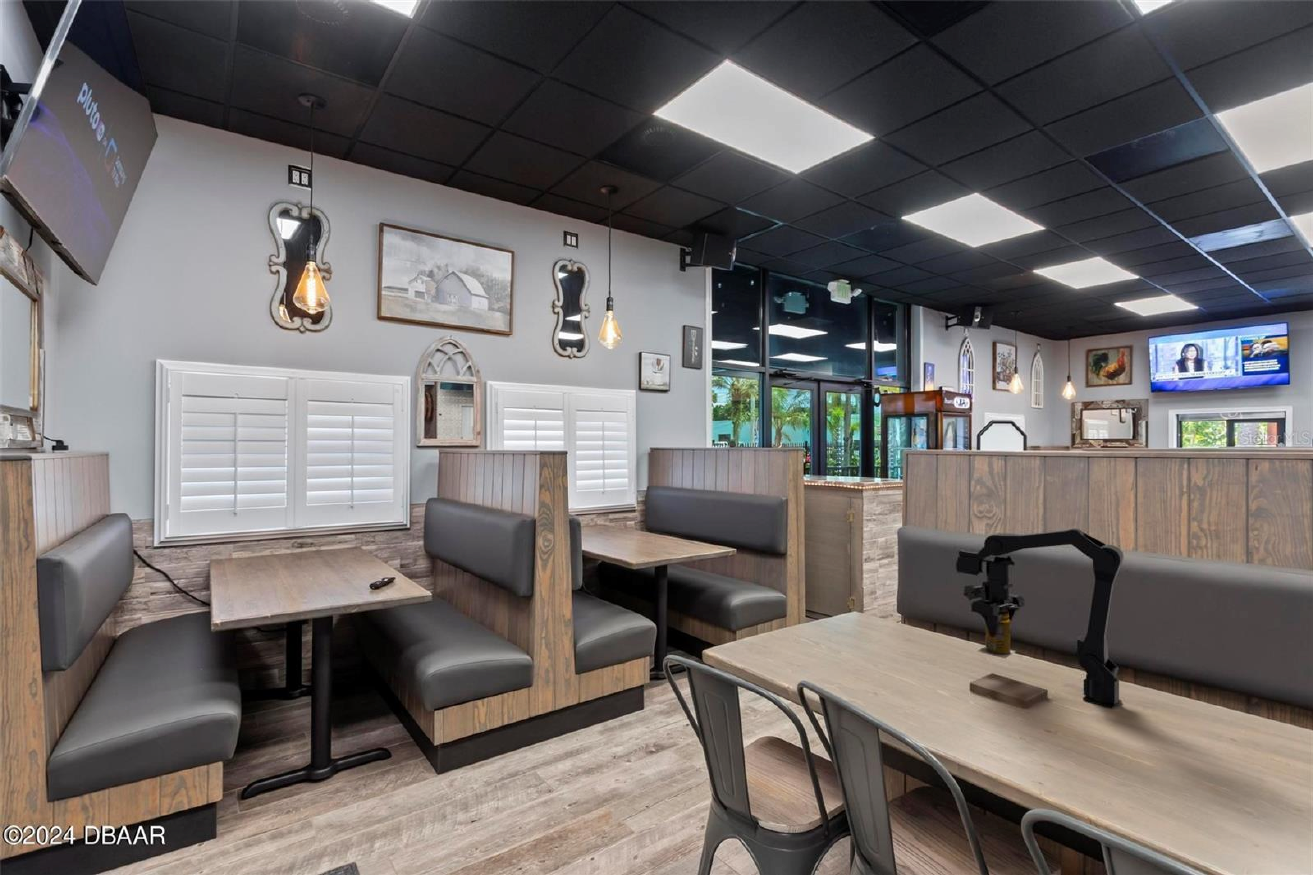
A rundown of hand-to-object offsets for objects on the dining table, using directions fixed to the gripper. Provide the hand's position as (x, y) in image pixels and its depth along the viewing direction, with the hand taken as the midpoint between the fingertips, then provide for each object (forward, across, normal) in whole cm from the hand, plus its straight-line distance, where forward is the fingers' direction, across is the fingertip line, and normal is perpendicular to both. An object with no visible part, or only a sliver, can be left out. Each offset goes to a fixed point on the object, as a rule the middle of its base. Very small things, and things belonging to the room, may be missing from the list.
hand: (997, 634), depth 174 cm
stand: (+12, +10, +8) cm, 17 cm away
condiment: (+5, +1, 0) cm, 5 cm away
